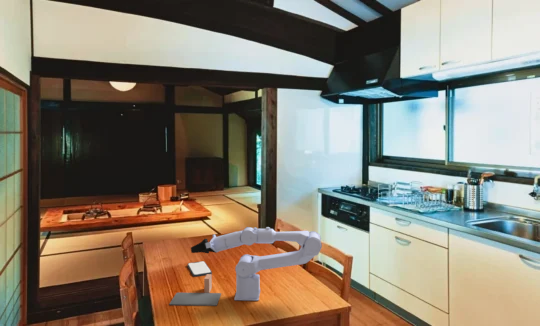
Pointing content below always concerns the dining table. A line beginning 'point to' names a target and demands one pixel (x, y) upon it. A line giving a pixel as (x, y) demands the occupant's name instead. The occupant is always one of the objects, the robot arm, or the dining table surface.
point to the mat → (196, 299)
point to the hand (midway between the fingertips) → (195, 250)
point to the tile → (208, 283)
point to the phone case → (199, 269)
